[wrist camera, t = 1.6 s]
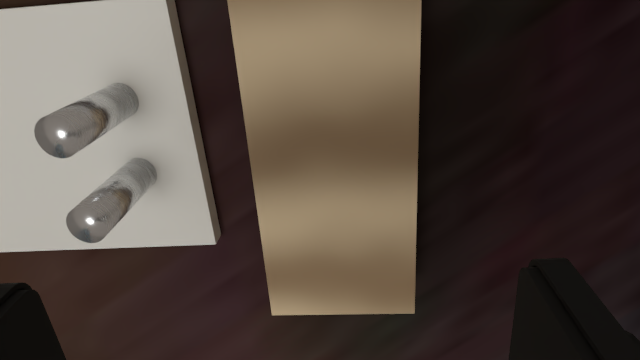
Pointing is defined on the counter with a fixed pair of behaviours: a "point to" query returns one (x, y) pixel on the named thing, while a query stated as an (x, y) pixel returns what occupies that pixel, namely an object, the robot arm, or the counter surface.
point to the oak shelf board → (333, 149)
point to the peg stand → (99, 130)
